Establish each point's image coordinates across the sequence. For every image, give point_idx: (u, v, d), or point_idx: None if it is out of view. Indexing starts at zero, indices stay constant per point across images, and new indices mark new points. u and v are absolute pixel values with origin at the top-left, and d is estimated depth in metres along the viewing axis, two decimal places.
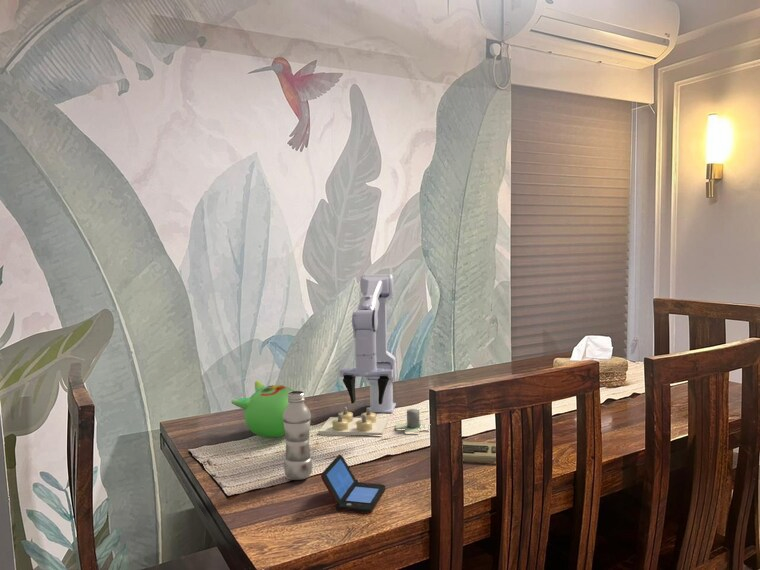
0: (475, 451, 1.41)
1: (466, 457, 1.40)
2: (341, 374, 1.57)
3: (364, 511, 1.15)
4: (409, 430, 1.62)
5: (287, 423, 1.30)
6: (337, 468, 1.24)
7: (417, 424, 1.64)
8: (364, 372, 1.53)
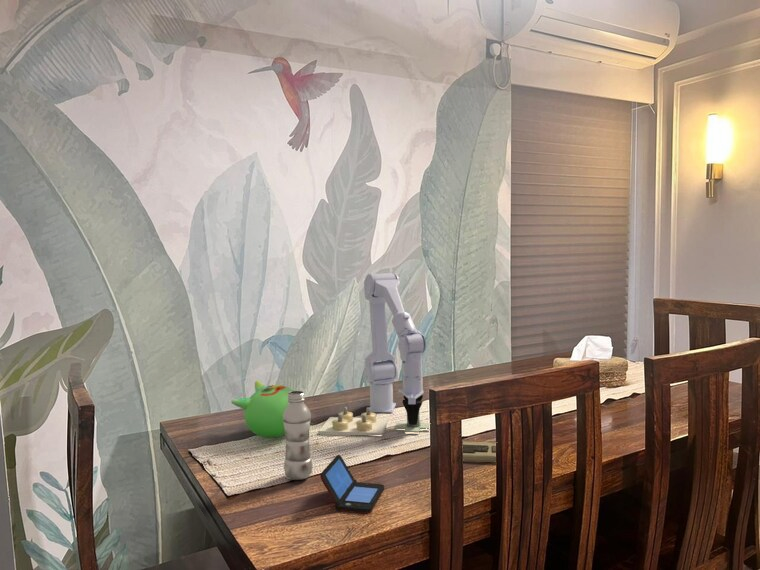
0: (475, 450, 1.41)
1: (467, 457, 1.40)
2: None
3: (363, 511, 1.15)
4: (409, 429, 1.62)
5: (287, 423, 1.30)
6: (336, 468, 1.24)
7: (417, 423, 1.64)
8: (400, 390, 1.65)
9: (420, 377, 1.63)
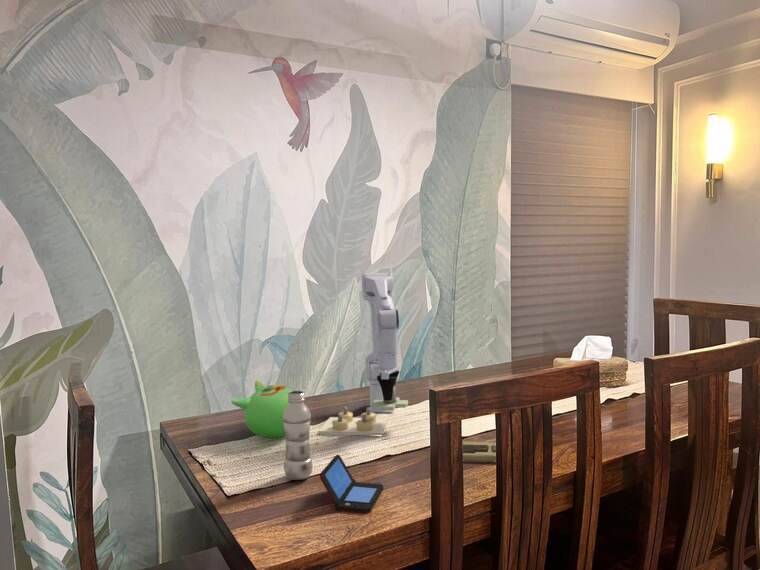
0: (476, 450, 1.42)
1: (467, 457, 1.40)
2: None
3: (363, 511, 1.15)
4: (384, 405, 1.62)
5: (287, 423, 1.30)
6: (335, 468, 1.24)
7: (393, 399, 1.64)
8: (376, 366, 1.65)
9: (395, 353, 1.63)
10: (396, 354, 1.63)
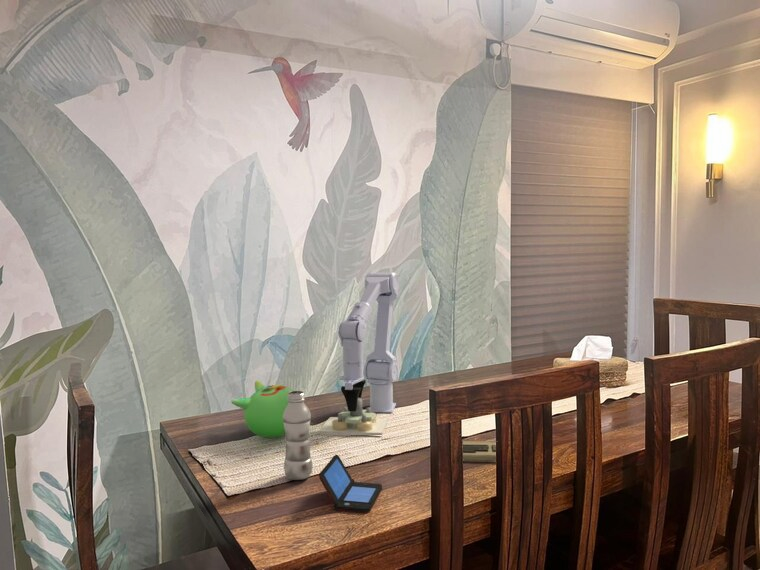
0: (476, 450, 1.42)
1: (468, 456, 1.40)
2: None
3: (362, 510, 1.15)
4: (350, 418, 1.64)
5: (287, 423, 1.30)
6: (334, 468, 1.24)
7: (359, 412, 1.66)
8: (341, 376, 1.67)
9: (360, 363, 1.64)
10: (361, 364, 1.65)
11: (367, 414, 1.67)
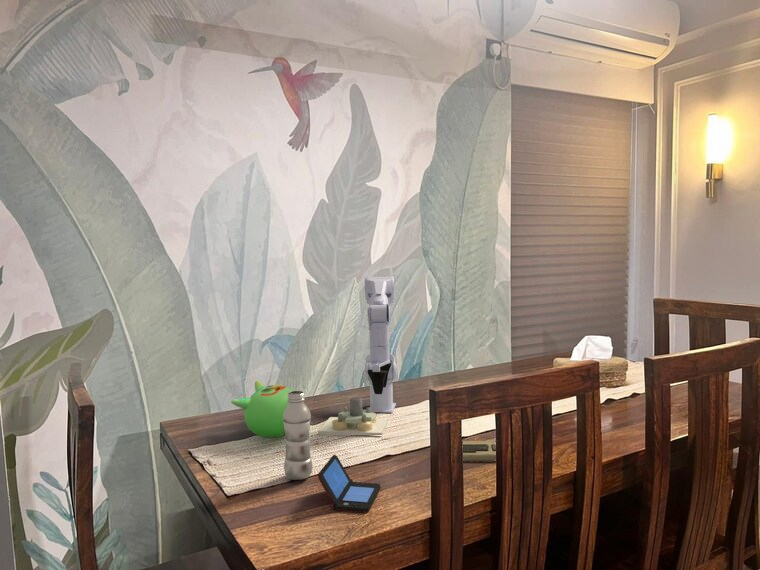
0: (476, 450, 1.42)
1: (469, 456, 1.40)
2: None
3: (361, 510, 1.15)
4: (350, 418, 1.64)
5: (287, 423, 1.30)
6: (333, 468, 1.24)
7: (359, 412, 1.66)
8: (368, 359, 1.70)
9: (386, 346, 1.68)
10: (387, 347, 1.68)
11: (367, 414, 1.67)
